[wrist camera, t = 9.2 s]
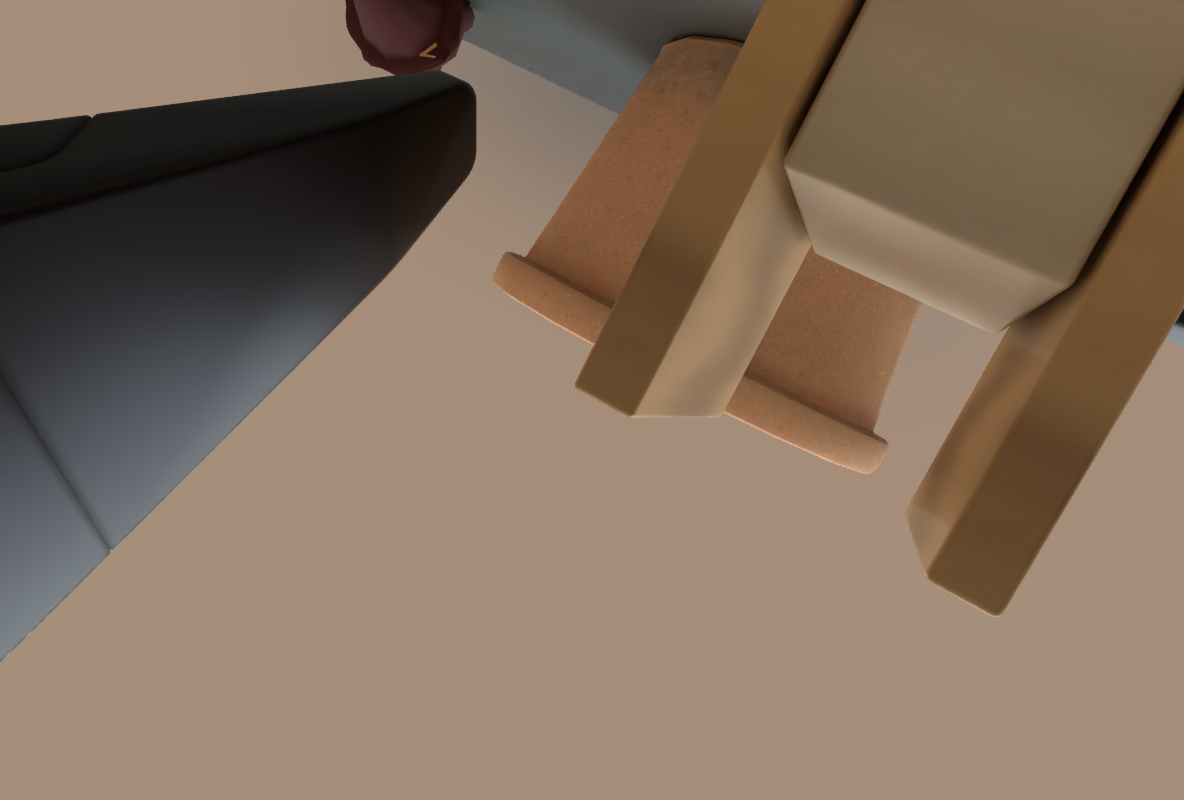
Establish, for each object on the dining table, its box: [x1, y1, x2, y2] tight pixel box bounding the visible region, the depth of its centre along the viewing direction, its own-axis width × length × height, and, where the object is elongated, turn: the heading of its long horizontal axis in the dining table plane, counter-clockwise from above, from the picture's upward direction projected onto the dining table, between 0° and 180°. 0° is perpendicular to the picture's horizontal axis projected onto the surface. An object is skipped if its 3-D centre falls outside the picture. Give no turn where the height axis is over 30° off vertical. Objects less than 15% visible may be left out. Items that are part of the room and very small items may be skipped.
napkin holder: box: [575, 0, 1184, 617], centre depth 11 cm, size 6×5×13 cm
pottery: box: [493, 36, 922, 474], centre depth 45 cm, size 22×22×14 cm
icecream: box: [345, 0, 475, 75], centre depth 50 cm, size 7×7×15 cm
